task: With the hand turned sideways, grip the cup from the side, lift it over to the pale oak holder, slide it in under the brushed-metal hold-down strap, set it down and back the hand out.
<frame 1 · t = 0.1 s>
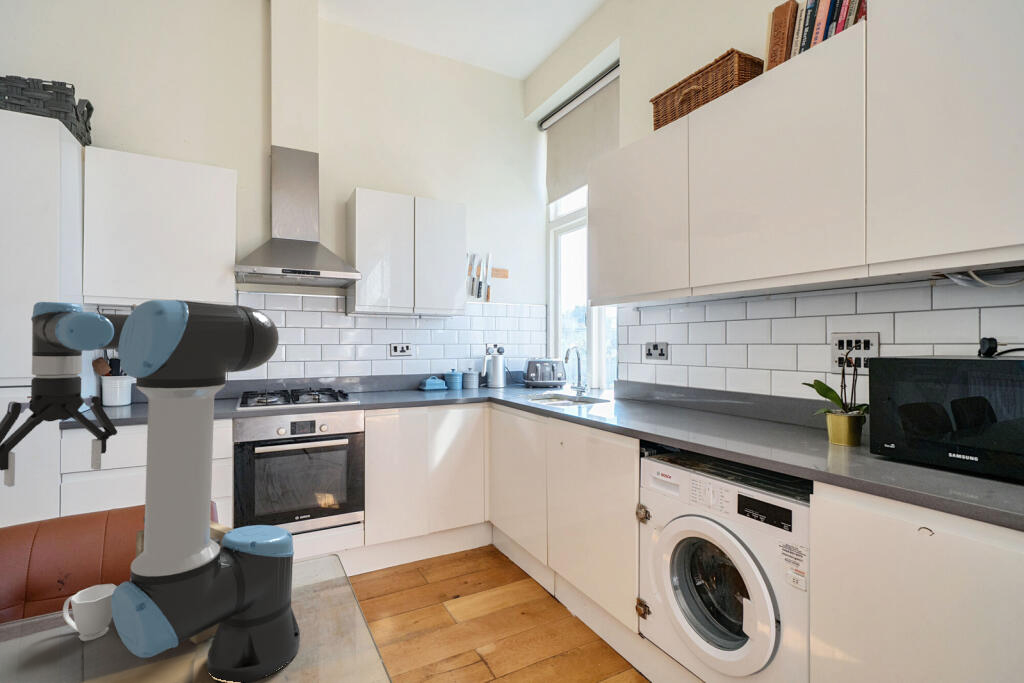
hand: (55, 476, 98), 28 cm above the table, tool pointing down, fingers open, 13 cm apart
cup: (87, 633, 91), on the table
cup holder: (185, 613, 98), on the table
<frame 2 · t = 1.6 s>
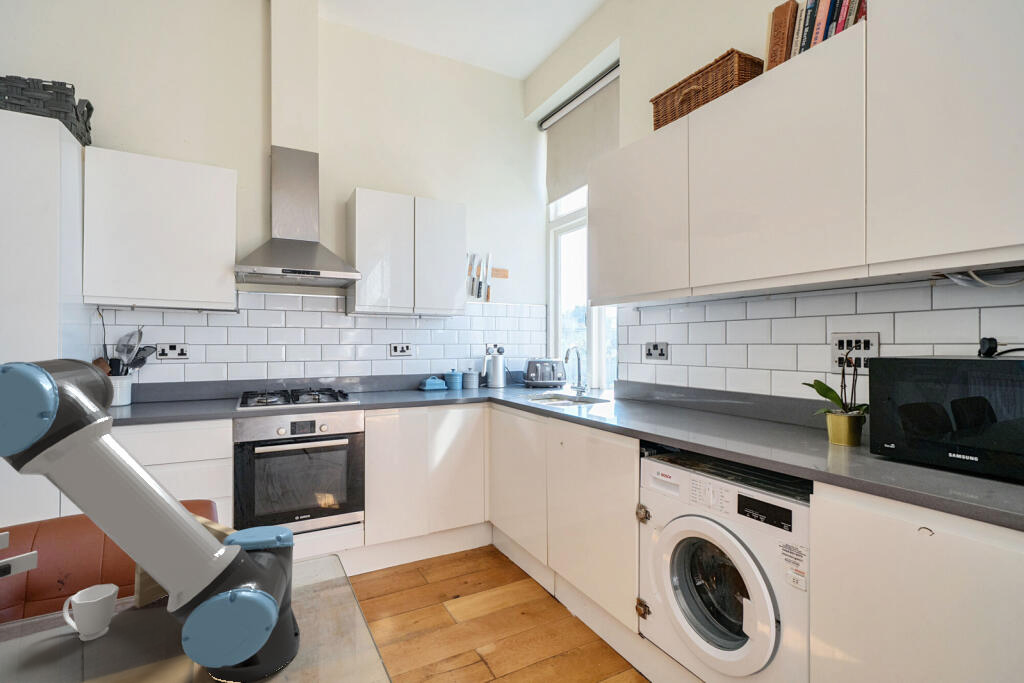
hand: (22, 548, 82), 20 cm above the table, tool horizontal, fingers open, 13 cm apart
nothing on the table moved.
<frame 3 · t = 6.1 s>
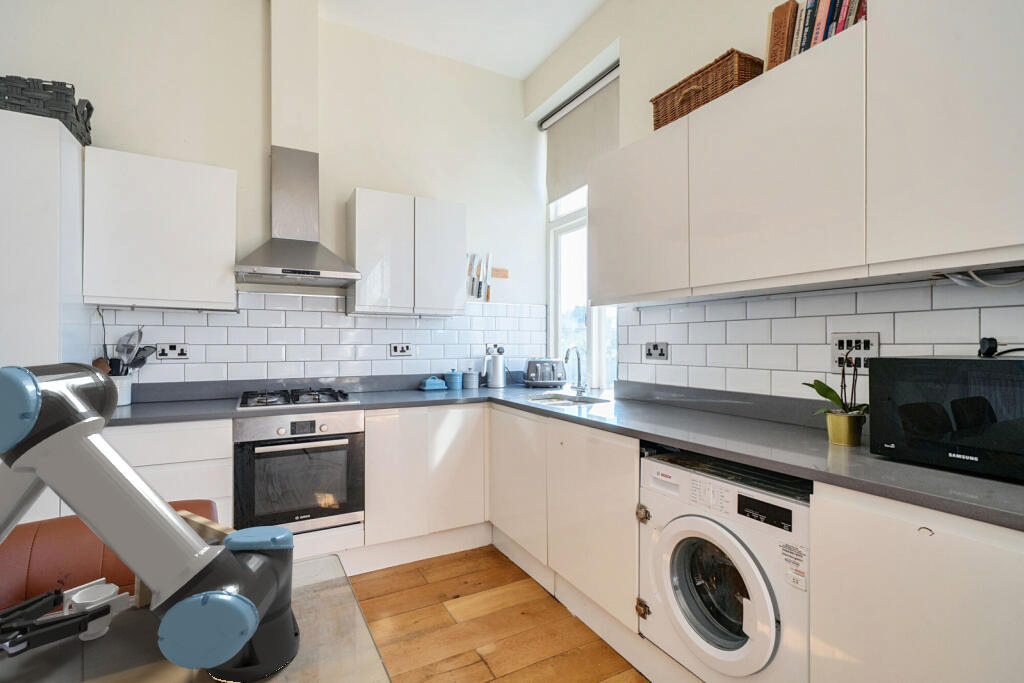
hand: (116, 591, 95), 6 cm above the table, tool horizontal, fingers closed on cup, 9 cm apart
cup: (87, 633, 91), on the table, touching gripper
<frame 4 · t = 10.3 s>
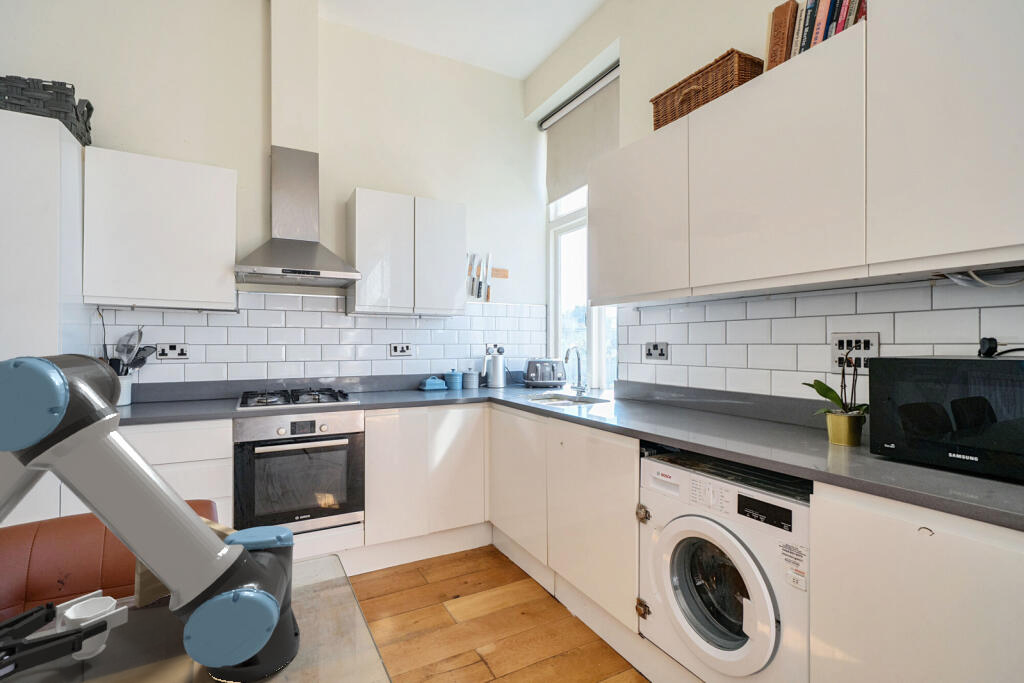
hand: (113, 605, 87), 8 cm above the table, tool horizontal, fingers closed on cup, 9 cm apart
cup: (81, 652, 83), point 2 cm above the table, touching gripper
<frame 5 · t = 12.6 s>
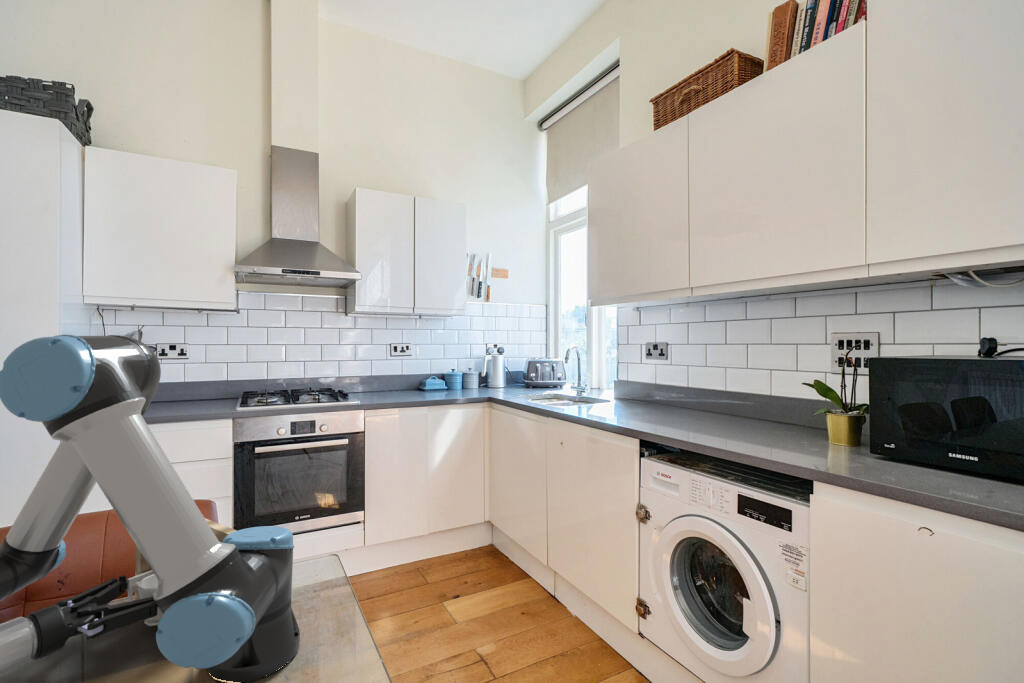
hand: (177, 578, 97), 8 cm above the table, tool horizontal, fingers closed on cup, 9 cm apart
cup: (151, 619, 93), point 2 cm above the table, touching gripper
when the fingers open (7 cm above the table, at t = 14.4 s): cup stays where it is, on the table.
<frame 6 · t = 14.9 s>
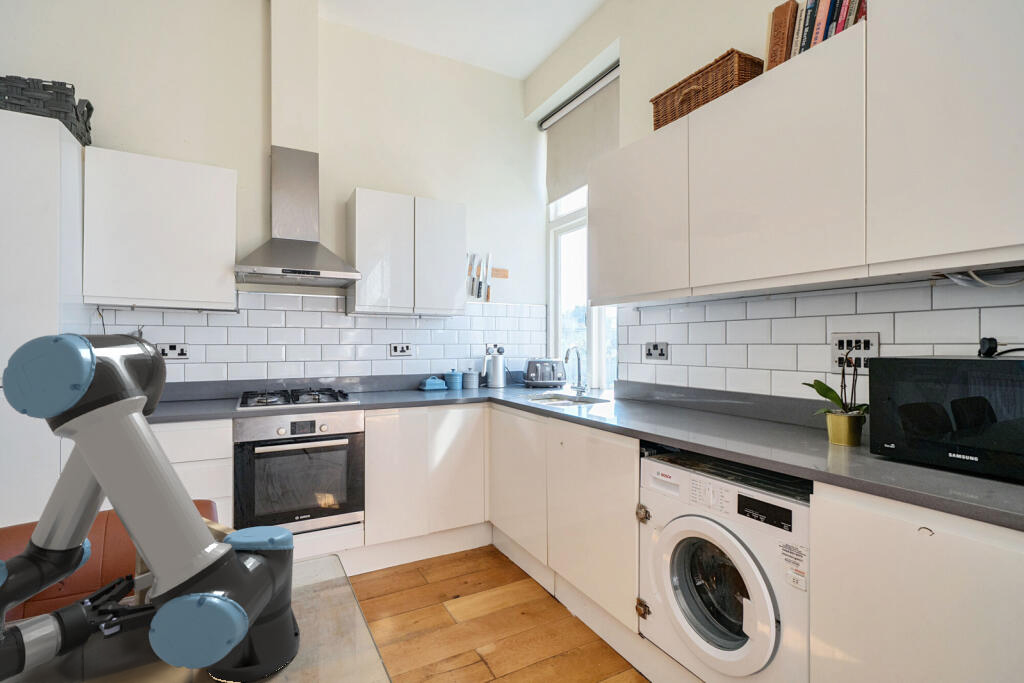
hand: (187, 580, 98), 7 cm above the table, tool horizontal, fingers open, 13 cm apart
cup: (168, 622, 95), on the table
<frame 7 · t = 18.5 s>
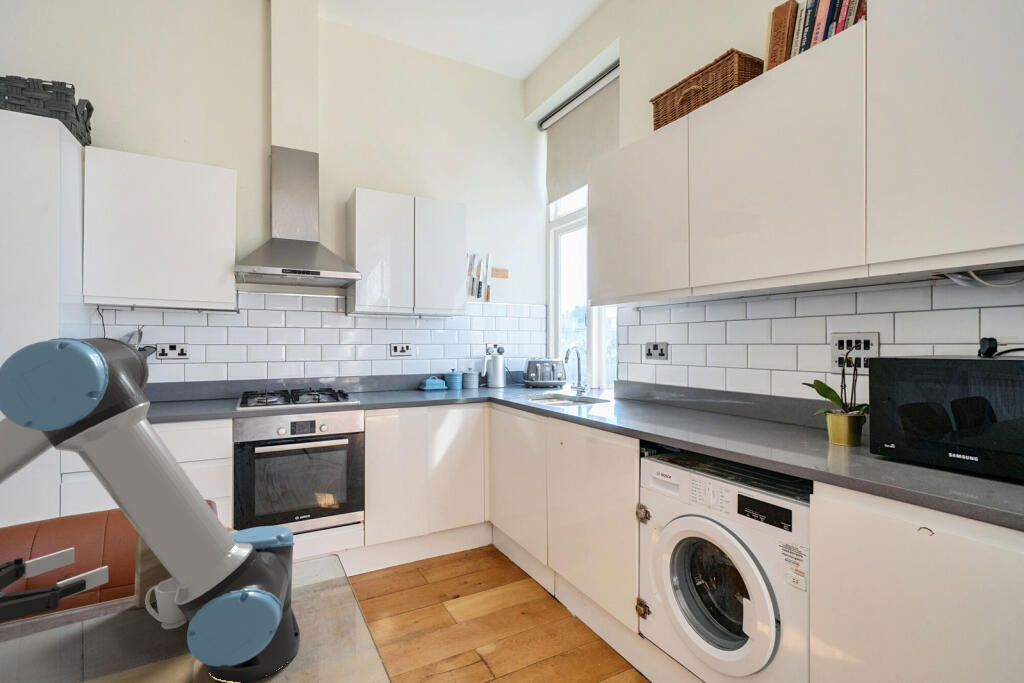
hand: (90, 563, 84), 17 cm above the table, tool horizontal, fingers open, 13 cm apart
nothing on the table moved.
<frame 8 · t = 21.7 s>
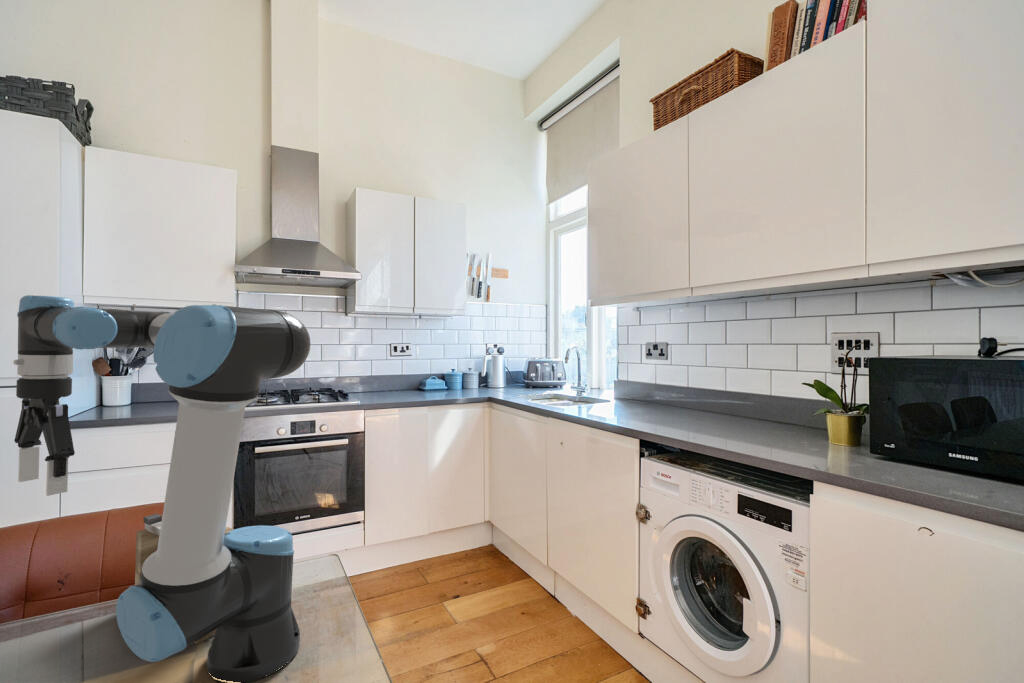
hand: (42, 486, 89), 29 cm above the table, tool pointing down, fingers open, 13 cm apart
nothing on the table moved.
at the end: cup inside the target area (0.2 cm from its centre), on the table; cup tilted 0°; the gripper is holding nothing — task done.
